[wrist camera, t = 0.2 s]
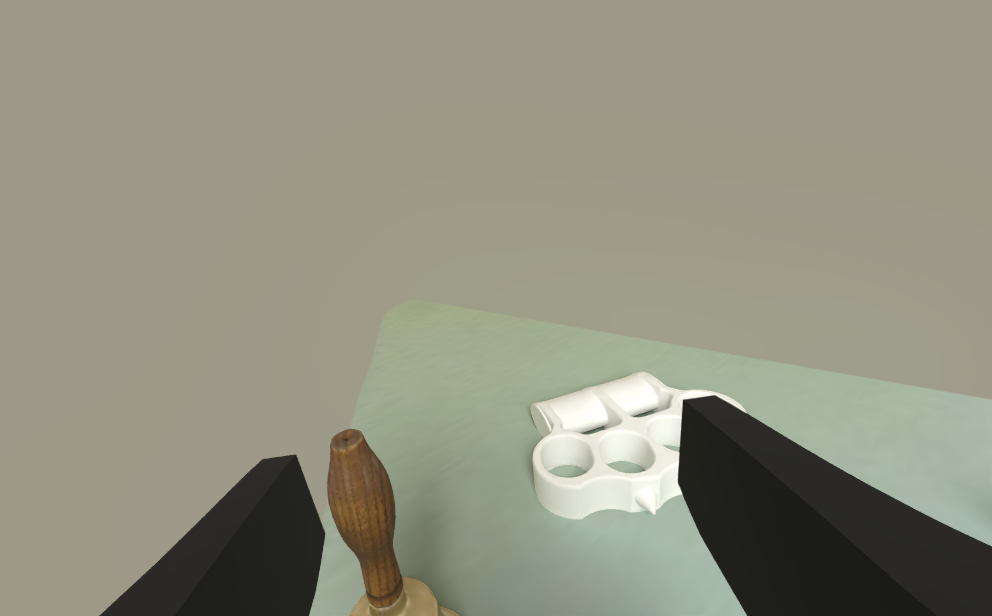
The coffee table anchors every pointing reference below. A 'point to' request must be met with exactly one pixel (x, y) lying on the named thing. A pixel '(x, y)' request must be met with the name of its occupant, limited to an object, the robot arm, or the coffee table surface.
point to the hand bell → (372, 530)
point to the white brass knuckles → (611, 445)
